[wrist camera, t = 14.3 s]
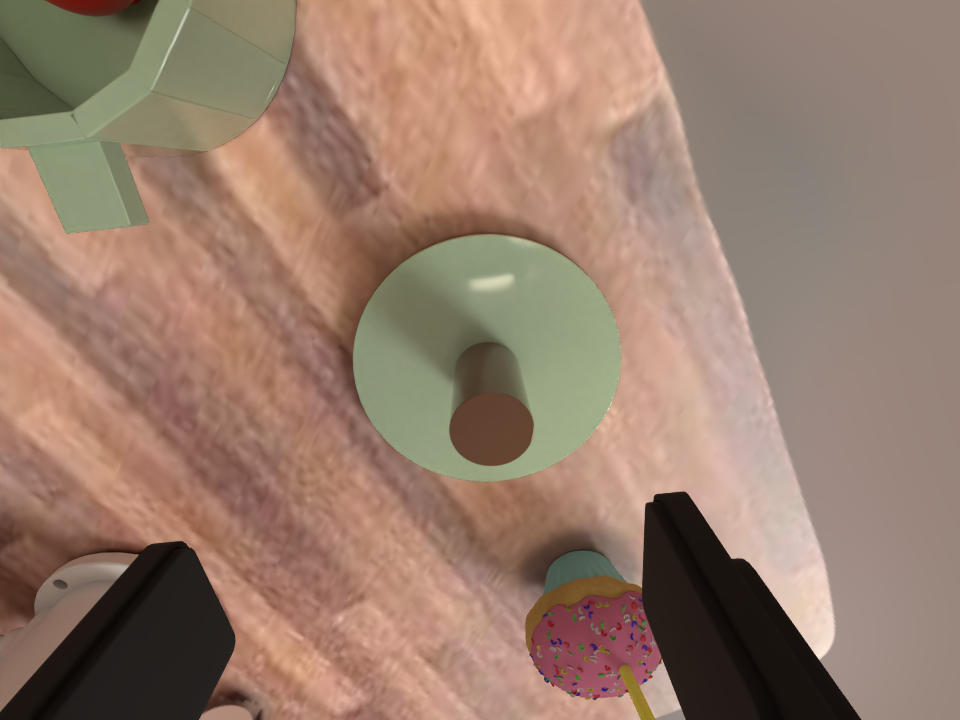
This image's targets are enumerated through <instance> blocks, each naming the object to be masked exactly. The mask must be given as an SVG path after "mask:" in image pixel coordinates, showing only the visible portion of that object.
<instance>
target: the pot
mask: <svg viewBox="0 0 960 720" xmlns="http://www.w3.org/2000/svg"><path fill="white" fill-rule="evenodd" d="M295 16H296V0H141V1H139V2H138V3H136V4H132V5H129V6H128V7H127V8H126V9H124V10H122V11H120V12H118V13H116V14H113V15H108V16H98V17H94V16H86V15H80V14H76V13H72V12H69V11H66V10H64V9H61V8H59V7H57V6H55V5H53V4H51V3H49V2H47V1H45V0H0V148H5V149H18V150H29V152H30V154H31V157H32V159H33V161H34V163H35V165H36V168H37V170H38V172H39V174H40V177H41V179H42V181H43V183H44V186H45V188H46V190H47V192H48V195H49V197H50V199H51V201H52V203H53V206H54V208H55V210H56V212H57V215H58V217H59V219H60V221H61V224H62V226H63V228H64V230H65V232H66V233H67V234H69V233H79V232H88V231H97V230H106V229H115V228H124V227H133V226H140V225H146V224H150V222H149V219H148V216H147V214H146V211H145V208H144V206H143V203H142V200H141V198H140V195H139V192H138V190H137V187H136V184H135V182H134V179H133V176H132V173H131V171H130V168H129V165H128V163H127V160H126V157H125V156H134V157H150V158H153V157H162V156H173V155H189V154H194V153H199V152H206V151H208V150H211V149H213V148H215V147H218V146H221V145H223V144H225V143H226V142H228V141H230V140H232V139H234V138H235V137H237V136H238V135H240V134H241V133H242V132H243V131H245V130H246V129H247V128H248V127H250V126H251V125H252V124H253V123H254V122H255V121H256V120H257V118H258V117H259V116H260V115H261V114H262V113H263V112H264V111H265V109H266V108H267V106H268V105H269V103H270V102H271V100H272V99H273V97H274V96H275V94H276V92H277V90H278V87H279V85H280V83H281V81H282V79H283V77H284V74H285V71H286V68H287V64H288V61H289V58H290V55H291V49H292V43H293V38H294V32H295Z"/></svg>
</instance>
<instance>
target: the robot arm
mask: <svg viewBox="0 0 960 720" xmlns="http://www.w3.org/2000/svg"><path fill="white" fill-rule="evenodd" d="M642 603H643V608H644V612H645V615H646V618H647V621H648V623H649V626H650V628H651V631H652V634H653V636H654V639H655V641H656V644H657V646H658V649H659V652H660V654H661V657H662V659H663V662H664V665H665V667H666V670H667V672H668V675H669V677H670V680H671V683H672V685H673V688H674V690H675V693H676V696H677V698H678V701H679V703H680V706H681V708H682V711H683V714H684V716H685V719H686V720H861V719H860V717H859V716H858V714H857V713H856V712H855V710H854V709H853V707H852V706H851V704H850V703H849V702H848V700H847V699H846V697H845V696H844V695H843V693H842V692H841V691H840V689H839V687H838V686H837V685H836V683H835V682H834V680H833V679H832V678H831V676H830V675H829V673H828V672H827V671H826V669H825V668H824V666H823V665H822V663H821V662H820V661H819V659H818V658H817V656H816V655H815V654H814V652H813V651H812V649H811V648H810V647H809V645H808V644H807V642H806V641H805V640H804V638H803V637H802V635H801V634H800V632H799V631H798V630H797V628H796V627H795V625H794V624H793V623H792V621H791V620H790V618H789V617H788V616H787V614H786V613H785V611H784V610H783V609H782V607H781V606H780V604H779V603H778V601H777V600H776V599H775V597H774V596H773V594H772V593H771V592H770V590H769V589H768V587H767V586H766V585H765V583H764V582H763V580H762V579H761V578H760V576H759V575H758V573H757V572H756V570H755V569H754V568H753V567H752V566H751V565H750V563H748V562H747V561H745V560H744V559H739V558H737V559H731V557H730V556H729V554H728V553H727V551H726V550H725V548H724V547H723V545H722V544H721V542H720V541H719V539H718V538H717V536H716V535H715V533H714V532H713V530H712V529H711V527H710V526H709V524H708V523H707V521H706V520H705V518H704V517H703V515H702V514H701V512H700V511H699V509H698V508H697V507H696V505H695V504H694V502H693V501H692V499H691V498H690V496H689V495H688V494H687V493H686V492H673V493H663V494H656V495H655V496H654V500H653V502H649V503H646V505H645V525H644V552H643V578H642ZM34 610H35V617H34V618H33V619H32V620H31V621H30V622H29V623H28V624H27V625H26V626H25V627H21V628H18V629H15V630H12V631H11V632H10V633H9V634H7V635H0V720H199V719H200V717H201V715H202V713H203V711H204V709H205V707H206V705H207V703H208V701H209V699H210V697H211V695H212V693H213V691H214V689H215V687H216V685H217V683H218V681H219V679H220V677H221V675H222V673H223V671H224V669H225V667H226V665H227V663H228V661H229V659H230V657H231V655H232V653H233V651H234V647H235V634H234V631H233V629H232V627H231V625H230V623H229V621H228V619H227V617H226V615H225V613H224V610H223V608H222V606H221V604H220V602H219V600H218V598H217V596H216V594H215V592H214V590H213V588H212V586H211V584H210V582H209V580H208V577H207V575H206V573H205V571H204V569H203V567H202V565H201V563H200V561H199V559H198V557H197V555H196V553H195V551H194V550H193V549H192V548H189V547H188V546H187V544H186V543H184V542H182V541H176V542H166V543H156V544H151V545H149V546H147V547H146V548H145V549H144V550H143V551H142V552H141V553H140V554H139V555H138V554H130V553H121V552H116V553H97V554H91V555H85V556H82V557H79V558H77V559H74V560H71V561H69V562H68V563H66V564H65V565H63V566H61V567H60V568H58V569H57V570H56V571H55V572H54V573H53V574H52V575H51V576H50V577H49V578H48V579H47V580H46V581H45V582H44V583H43V584H42V586H41V587H40V589H39V590H38V592H37V595H36V598H35V602H34Z"/></svg>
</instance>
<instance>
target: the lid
mask: <svg viewBox="0 0 960 720" xmlns="http://www.w3.org/2000/svg"><path fill="white" fill-rule="evenodd" d="M620 368H621V343H620V338H619V332H618V327H617V324H616V321H615V318H614V316H613V313H612V310H611V308H610V306H609V304H608V303H607V301H606V299H605V297H604V295H603V294H602V292H601V291H600V290H599V288H598V287H597V286H596V284H595V283H594V281H593V280H592V279H591V278H590V277H589V276H588V275H587V274H586V273H585V272H584V271H583V270H582V269H581V268H580V267H579V266H577V265H576V264H575V263H573V262H572V261H571V260H569V259H568V258H567V257H565V256H564V255H562V254H560V253H559V252H557V251H555V250H553V249H552V248H550V247H548V246H545V245H543V244H540V243H538V242H535V241H532V240H529V239H525V238H521V237H517V236H512V235H503V234H493V233H491V234H471V235H466V236H460V237H454V238H451V239H448V240H445V241H442V242H439V243H436V244H433V245H431V246H429V247H427V248H425V249H423V250H421V251H419V252H417V253H416V254H414V255H413V256H411V257H410V258H408V259H407V260H405V261H404V262H402V263H401V264H400V265H399V266H398V267H397V268H395V269H394V270H393V271H392V272H391V273H390V274H389V275H388V276H387V277H386V278H385V280H384V281H383V282H382V283H381V284H380V285H379V287H378V288H377V289H376V290H375V292H374V293H373V295H372V297H371V298H370V300H369V301H368V303H367V305H366V307H365V309H364V311H363V314H362V316H361V318H360V320H359V324H358V327H357V331H356V334H355V339H354V347H353V373H354V379H355V385H356V388H357V392H358V395H359V398H360V401H361V403H362V405H363V408H364V410H365V412H366V414H367V416H368V417H369V419H370V421H371V422H372V424H373V425H374V427H375V428H376V430H377V431H378V432H379V433H380V434H381V436H382V437H383V438H384V439H385V440H386V441H387V442H388V443H389V444H390V445H391V446H392V447H393V448H394V449H395V450H396V451H398V452H399V453H400V454H402V455H403V456H405V457H406V458H407V459H409V460H410V461H412V462H414V463H416V464H417V465H419V466H421V467H423V468H425V469H428V470H430V471H432V472H435V473H437V474H440V475H444V476H447V477H451V478H455V479H461V480H467V481H479V482H490V481H503V480H510V479H516V478H520V477H523V476H527V475H531V474H533V473H536V472H538V471H541V470H544V469H546V468H548V467H550V466H552V465H554V464H556V463H557V462H559V461H561V460H562V459H564V458H565V457H567V456H568V455H570V454H571V453H572V452H573V451H575V450H576V449H577V448H578V447H579V446H581V445H582V444H583V443H584V442H585V441H586V440H587V439H588V438H589V436H590V435H591V434H592V433H593V432H594V431H595V429H596V428H597V427H598V425H599V424H600V423H601V421H602V420H603V418H604V416H605V414H606V413H607V411H608V409H609V407H610V405H611V403H612V400H613V397H614V395H615V392H616V389H617V385H618V380H619V376H620Z"/></svg>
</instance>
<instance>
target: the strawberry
mask: <svg viewBox="0 0 960 720" xmlns="http://www.w3.org/2000/svg"><path fill="white" fill-rule="evenodd" d="M45 1H47V2H49V3H51V4H53V5H55V6H57V7H59V8H61V9H64V10H66V11H69V12H72V13H76V14H80V15H86V16H94V17H98V16H108V15H113V14H116V13H118V12H120V11H122V10H124V9H126V8H127V7H128V6H129V5H132V4H136V3H138V2H139V1H141V0H45Z"/></svg>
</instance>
